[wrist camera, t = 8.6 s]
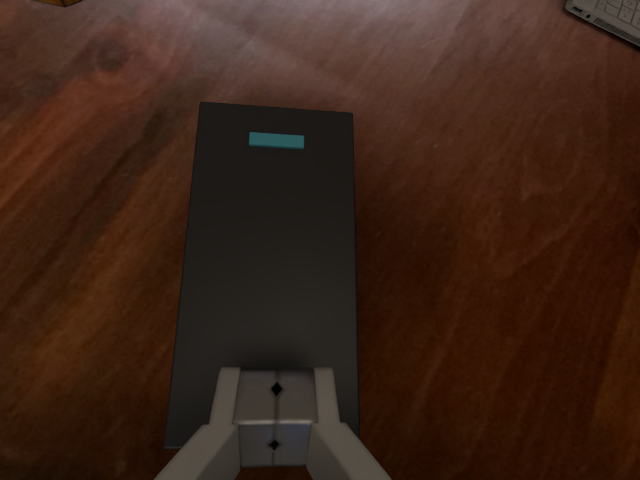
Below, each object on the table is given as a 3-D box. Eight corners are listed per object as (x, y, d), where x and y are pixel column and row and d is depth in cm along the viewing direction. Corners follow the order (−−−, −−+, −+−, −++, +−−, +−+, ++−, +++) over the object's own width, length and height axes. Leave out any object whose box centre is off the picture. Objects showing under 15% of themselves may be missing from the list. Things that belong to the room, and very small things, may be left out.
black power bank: (361, 445, 13) (354, 109, 17) (161, 451, 12) (198, 98, 16) (341, 419, 17) (338, 154, 21) (190, 422, 17) (214, 147, 20)
